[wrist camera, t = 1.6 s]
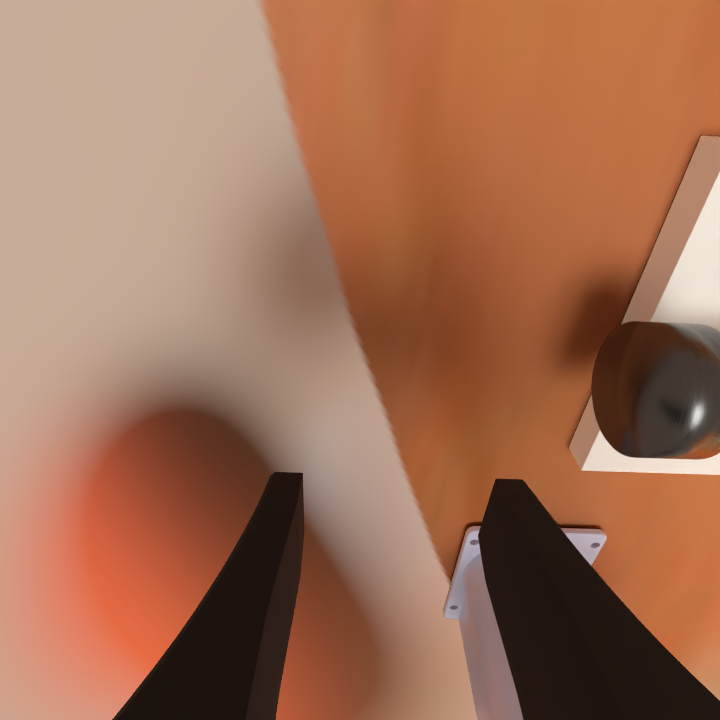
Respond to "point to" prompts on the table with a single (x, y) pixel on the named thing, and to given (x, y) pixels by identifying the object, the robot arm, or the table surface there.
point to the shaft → (659, 390)
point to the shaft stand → (672, 300)
